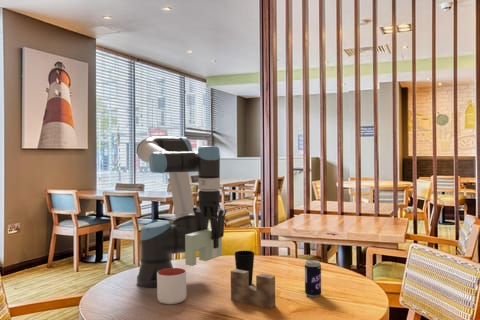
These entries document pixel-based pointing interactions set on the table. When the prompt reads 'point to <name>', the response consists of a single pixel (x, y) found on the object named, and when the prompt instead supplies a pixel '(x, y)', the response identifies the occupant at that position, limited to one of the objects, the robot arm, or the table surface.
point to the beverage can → (313, 278)
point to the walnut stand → (253, 289)
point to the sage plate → (200, 246)
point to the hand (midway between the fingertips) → (209, 256)
